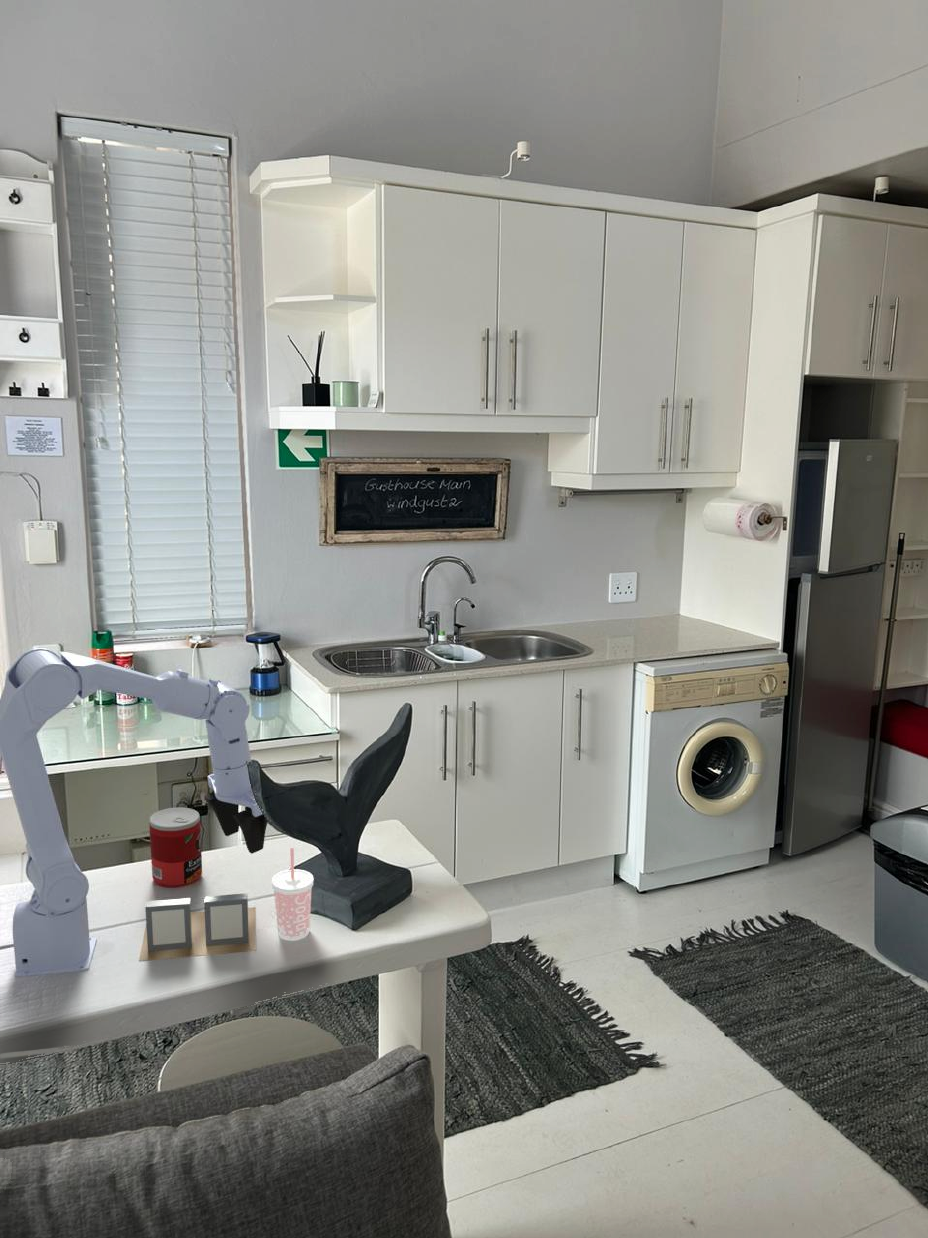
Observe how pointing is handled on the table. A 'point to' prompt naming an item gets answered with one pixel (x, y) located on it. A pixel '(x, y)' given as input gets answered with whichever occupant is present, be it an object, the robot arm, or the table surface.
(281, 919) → the beverage cup
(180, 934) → the grey framed square tile
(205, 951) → the cork mat
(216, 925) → the gray framed tile
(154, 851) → the canned food
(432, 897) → the table surface
